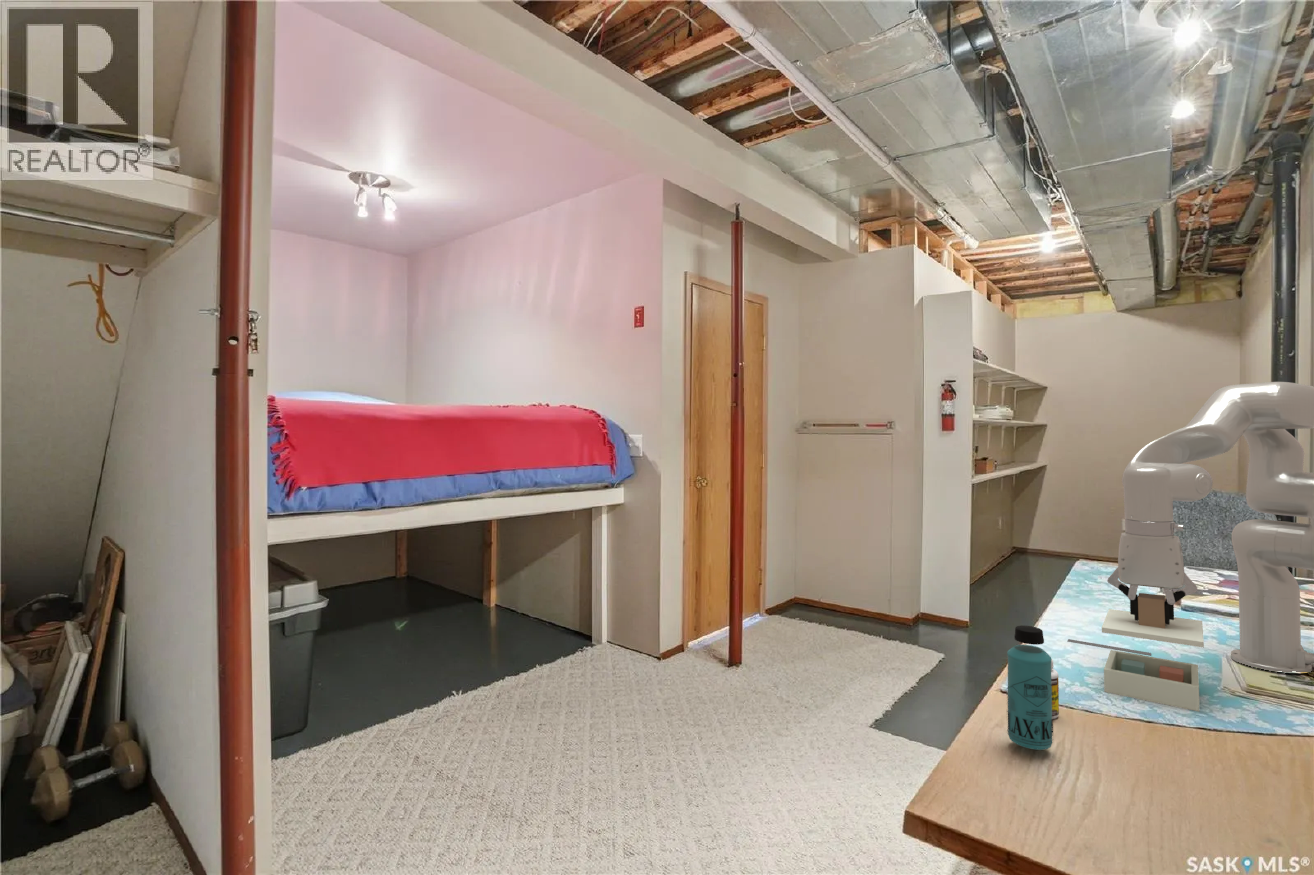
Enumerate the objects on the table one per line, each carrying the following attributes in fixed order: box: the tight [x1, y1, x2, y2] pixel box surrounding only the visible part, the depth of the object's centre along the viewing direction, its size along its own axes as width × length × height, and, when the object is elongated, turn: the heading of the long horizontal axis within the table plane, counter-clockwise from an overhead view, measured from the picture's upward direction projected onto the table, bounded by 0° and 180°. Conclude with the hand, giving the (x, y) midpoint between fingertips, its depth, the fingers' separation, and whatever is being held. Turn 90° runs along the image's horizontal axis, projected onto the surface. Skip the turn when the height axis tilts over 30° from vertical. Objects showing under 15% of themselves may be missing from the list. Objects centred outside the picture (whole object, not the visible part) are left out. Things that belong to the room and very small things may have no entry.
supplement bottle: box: [1051, 659, 1060, 720], centre depth 113 cm, size 6×6×10 cm
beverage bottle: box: [1006, 625, 1054, 751], centre depth 100 cm, size 6×7×20 cm
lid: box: [1101, 592, 1205, 648], centre depth 121 cm, size 15×15×6 cm
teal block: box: [1121, 659, 1145, 675], centre depth 125 cm, size 4×4×4 cm
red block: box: [1159, 666, 1184, 683], centre depth 121 cm, size 4×4×4 cm
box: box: [1103, 649, 1200, 713], centre depth 121 cm, size 14×14×5 cm
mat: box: [1067, 638, 1152, 657], centre depth 140 cm, size 16×16×1 cm
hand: (1152, 619), depth 121 cm, fingers closed on lid, 4 cm apart
